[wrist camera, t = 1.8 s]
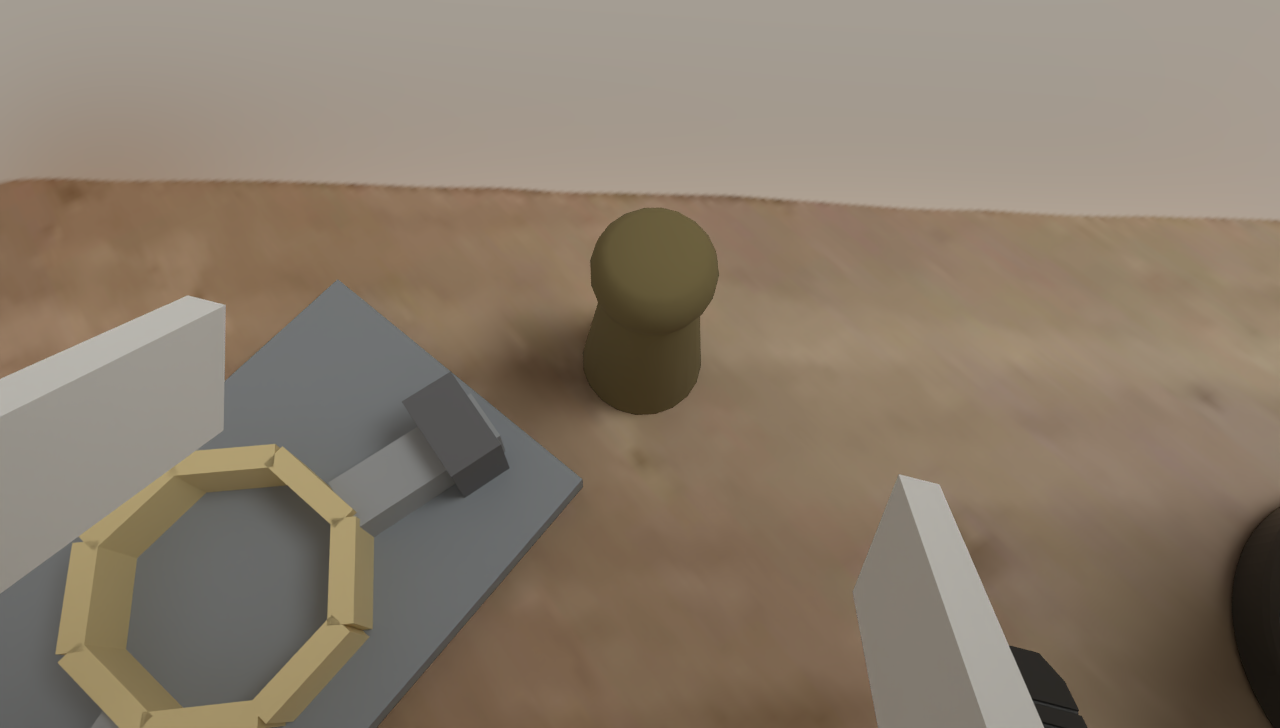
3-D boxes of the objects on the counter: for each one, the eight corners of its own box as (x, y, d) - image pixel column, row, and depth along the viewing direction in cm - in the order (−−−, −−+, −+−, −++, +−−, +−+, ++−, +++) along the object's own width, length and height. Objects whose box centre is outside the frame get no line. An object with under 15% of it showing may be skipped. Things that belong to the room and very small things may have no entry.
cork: (572, 316, 42) (565, 195, 32) (685, 296, 43) (713, 172, 33) (595, 425, 40) (595, 332, 30) (713, 402, 41) (753, 305, 31)
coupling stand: (346, 293, 42) (313, 239, 37) (582, 487, 39) (581, 456, 34) (-124, 721, 33) (-246, 725, 29) (129, 1015, 30) (40, 1076, 25)
